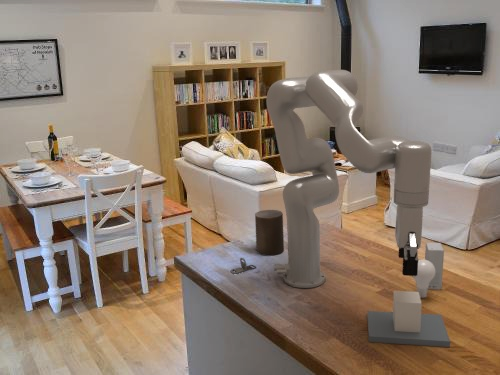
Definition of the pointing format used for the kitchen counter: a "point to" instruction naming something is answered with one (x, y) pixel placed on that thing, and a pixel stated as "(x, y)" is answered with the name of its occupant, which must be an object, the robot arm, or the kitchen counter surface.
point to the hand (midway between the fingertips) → (407, 266)
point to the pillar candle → (269, 232)
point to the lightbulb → (424, 276)
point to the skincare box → (435, 263)
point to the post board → (428, 336)
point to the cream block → (407, 311)
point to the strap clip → (244, 267)
